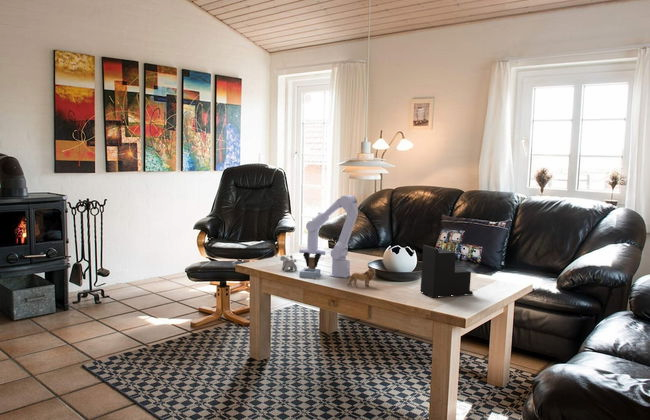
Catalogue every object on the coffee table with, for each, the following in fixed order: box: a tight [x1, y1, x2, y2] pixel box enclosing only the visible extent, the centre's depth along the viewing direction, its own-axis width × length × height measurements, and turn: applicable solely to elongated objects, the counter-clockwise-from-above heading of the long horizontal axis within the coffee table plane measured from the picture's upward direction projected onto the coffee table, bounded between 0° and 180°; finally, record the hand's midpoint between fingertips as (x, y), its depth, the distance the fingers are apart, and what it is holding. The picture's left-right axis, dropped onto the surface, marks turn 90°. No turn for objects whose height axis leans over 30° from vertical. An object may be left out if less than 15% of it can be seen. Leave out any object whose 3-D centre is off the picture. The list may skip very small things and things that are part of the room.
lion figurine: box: [346, 267, 377, 288], centre depth 264 cm, size 15×5×9 cm, turn 106°
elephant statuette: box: [279, 254, 298, 272], centre depth 298 cm, size 9×12×8 cm
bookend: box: [420, 244, 474, 298], centre depth 254 cm, size 23×11×24 cm, turn 113°
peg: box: [307, 256, 316, 269], centre depth 294 cm, size 4×4×8 cm
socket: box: [299, 267, 321, 279], centre depth 284 cm, size 9×9×3 cm
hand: (311, 266), depth 294 cm, fingers closed on peg, 4 cm apart
